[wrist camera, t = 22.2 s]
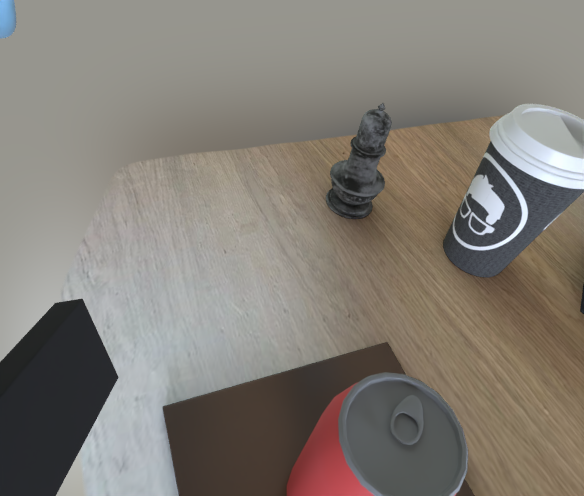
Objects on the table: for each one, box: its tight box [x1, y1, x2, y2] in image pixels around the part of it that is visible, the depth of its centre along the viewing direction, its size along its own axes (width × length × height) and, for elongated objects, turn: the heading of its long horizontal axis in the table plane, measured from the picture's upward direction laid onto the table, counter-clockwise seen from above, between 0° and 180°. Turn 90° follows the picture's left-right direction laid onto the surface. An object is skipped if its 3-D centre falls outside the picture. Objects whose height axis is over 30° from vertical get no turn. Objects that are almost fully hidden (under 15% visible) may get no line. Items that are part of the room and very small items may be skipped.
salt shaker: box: [326, 103, 392, 219], centre depth 43 cm, size 6×6×12 cm
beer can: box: [287, 372, 468, 496], centre depth 22 cm, size 7×7×12 cm
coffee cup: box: [443, 104, 584, 277], centre depth 39 cm, size 10×10×15 cm
